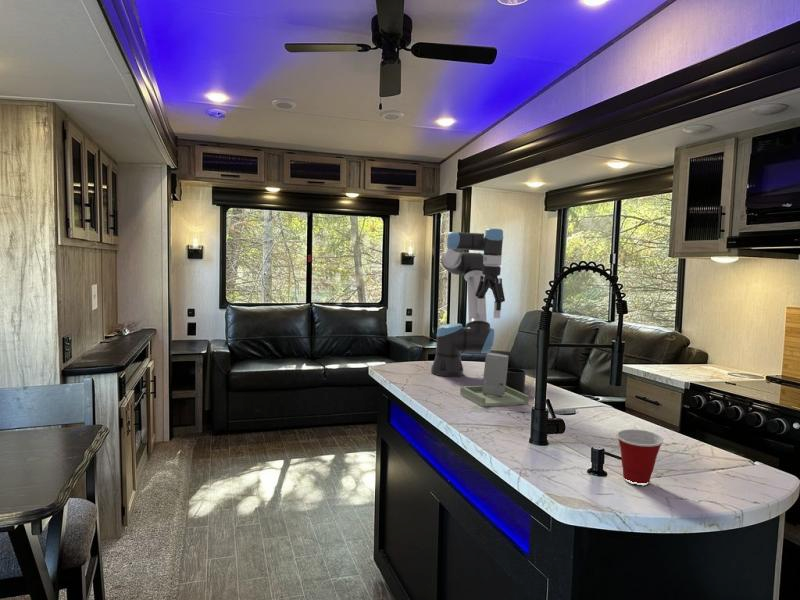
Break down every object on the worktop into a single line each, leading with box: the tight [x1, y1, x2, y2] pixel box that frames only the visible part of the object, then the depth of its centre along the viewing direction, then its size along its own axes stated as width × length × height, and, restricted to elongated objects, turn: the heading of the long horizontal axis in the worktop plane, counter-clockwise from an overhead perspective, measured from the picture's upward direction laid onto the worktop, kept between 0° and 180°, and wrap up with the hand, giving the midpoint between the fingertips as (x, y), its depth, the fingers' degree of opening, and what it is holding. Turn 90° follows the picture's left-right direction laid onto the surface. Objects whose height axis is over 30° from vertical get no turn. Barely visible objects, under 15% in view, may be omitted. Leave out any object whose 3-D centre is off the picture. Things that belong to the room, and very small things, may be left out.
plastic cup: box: [616, 428, 664, 483], centre depth 134 cm, size 11×11×12 cm
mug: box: [506, 367, 527, 394], centre depth 224 cm, size 9×12×9 cm
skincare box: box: [481, 352, 510, 396], centre depth 212 cm, size 8×7×16 cm
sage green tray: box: [459, 385, 530, 408], centre depth 209 cm, size 18×20×3 cm
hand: (488, 315), depth 227 cm, fingers open, 13 cm apart
